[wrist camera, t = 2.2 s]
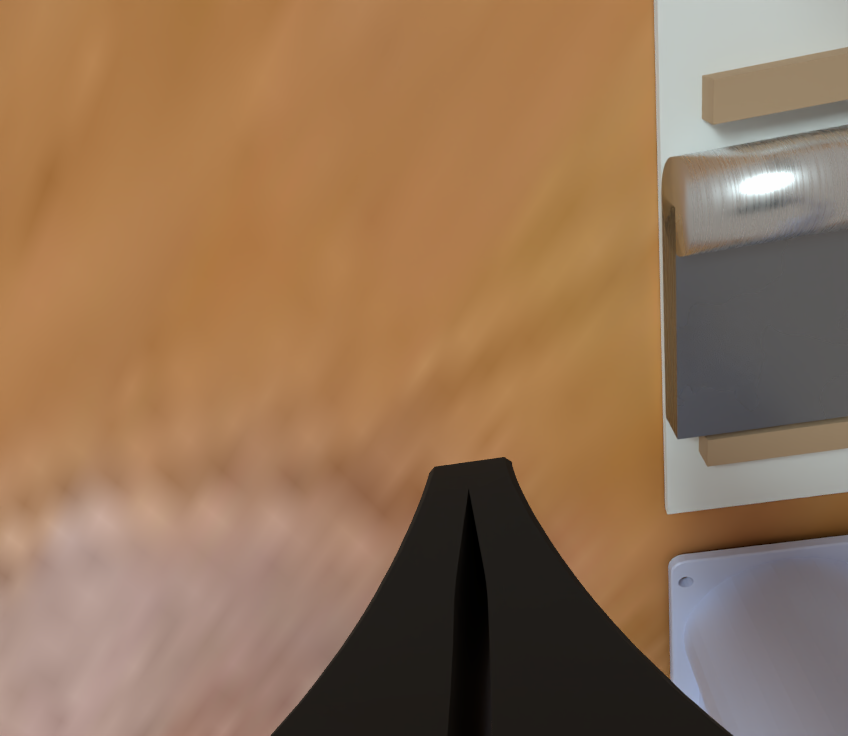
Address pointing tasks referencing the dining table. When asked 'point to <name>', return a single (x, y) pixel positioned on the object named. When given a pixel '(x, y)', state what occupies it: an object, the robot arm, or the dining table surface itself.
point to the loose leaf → (756, 284)
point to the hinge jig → (731, 125)
